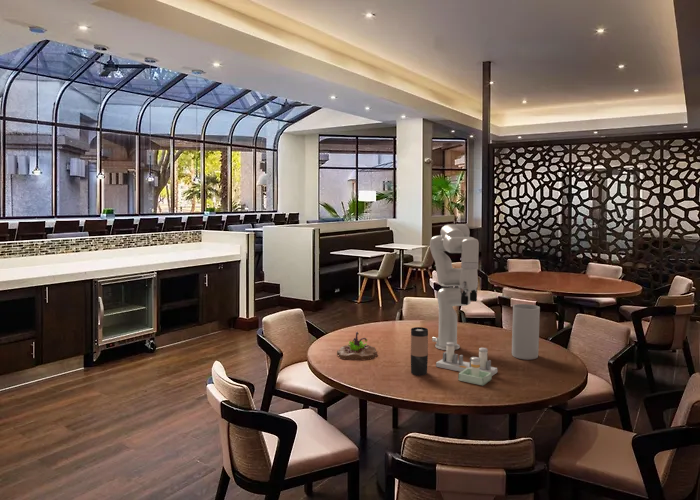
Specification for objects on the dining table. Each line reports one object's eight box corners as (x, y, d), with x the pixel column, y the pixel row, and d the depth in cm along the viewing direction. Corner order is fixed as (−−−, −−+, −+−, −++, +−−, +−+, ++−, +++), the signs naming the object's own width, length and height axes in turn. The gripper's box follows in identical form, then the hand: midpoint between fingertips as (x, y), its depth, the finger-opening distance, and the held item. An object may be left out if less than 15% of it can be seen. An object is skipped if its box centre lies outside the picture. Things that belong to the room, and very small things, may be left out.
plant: (378, 349, 275) (378, 328, 274) (374, 361, 256) (375, 338, 255) (340, 348, 278) (340, 327, 277) (334, 359, 259) (334, 337, 258)
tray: (458, 380, 228) (458, 373, 227) (467, 374, 235) (467, 368, 235) (483, 385, 221) (483, 378, 221) (491, 379, 228) (491, 372, 228)
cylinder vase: (539, 360, 255) (541, 309, 252) (512, 359, 257) (514, 308, 255) (536, 353, 267) (537, 304, 265) (510, 352, 269) (511, 303, 267)
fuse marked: (469, 378, 228) (469, 358, 227) (472, 376, 231) (473, 356, 230) (477, 380, 225) (478, 360, 224) (480, 378, 228) (481, 357, 227)
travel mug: (430, 371, 239) (430, 328, 237) (423, 376, 232) (424, 332, 230) (414, 369, 243) (415, 326, 241) (407, 373, 236) (408, 329, 234)
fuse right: (477, 368, 237) (477, 349, 236) (480, 366, 240) (481, 347, 239) (485, 370, 235) (485, 350, 234) (488, 368, 238) (488, 348, 237)
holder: (435, 366, 246) (436, 354, 246) (444, 361, 253) (444, 349, 253) (489, 377, 231) (489, 364, 230) (497, 372, 238) (497, 359, 237)
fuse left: (444, 362, 246) (445, 343, 245) (448, 360, 249) (448, 341, 248) (452, 363, 244) (452, 344, 243) (455, 361, 247) (455, 342, 246)
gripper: (469, 263, 250) (469, 298, 252) (453, 267, 237) (453, 304, 238) (485, 264, 246) (484, 300, 248) (469, 268, 232) (468, 306, 234)
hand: (469, 302), depth 243 cm, fingers open, 9 cm apart
